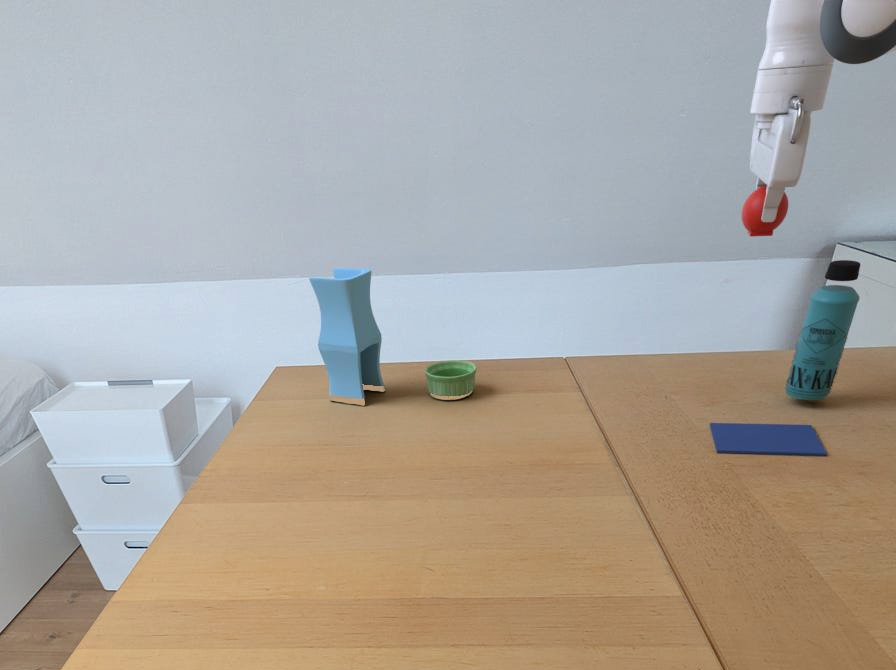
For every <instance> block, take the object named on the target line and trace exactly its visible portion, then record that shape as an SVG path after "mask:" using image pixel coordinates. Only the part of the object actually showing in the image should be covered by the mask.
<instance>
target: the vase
mask: <svg viewBox="0 0 896 670" xmlns="http://www.w3.org/2000/svg"><path fill="white" fill-rule="evenodd" d="M332 272H333V277H314V276H312V277H308V280H309V282H310V285H311V287H312V289H313V291H314V294H315V296H316V301H317V302H318V306H319V311H320V331H319V336H318V342H317V347H318V351H319V354H320V356H321V358H322V360H323V361H322V362H323V364H324V366H325V369H326V373H327V376H328V385H329V396H330V395H334V396H341V397H349V398H357V399H363V398H365V399H366V397H365V392H364V391H365V390H363V385H362V384H364V385H373V386H385V384H384V381H383V377H382V372H381V366H380V362H381V361H380V359H381V356H380V355H381V349H382V348H381V347H382V342H383V341H382V340H383V338H382V332H381V330H380V328H379V326H378V324H377V321H376V318H375V316H374V313H373V310H372V309H373V308H372V303H371V281H372V270H371V269H369V268H350V267H334V268H333V269H332Z"/></svg>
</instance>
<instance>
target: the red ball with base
mask: <svg viewBox="0 0 896 670" xmlns="http://www.w3.org/2000/svg"><path fill="white" fill-rule="evenodd" d="M766 189H767V186H764V187H761V188H759V189H757V190H756V189H755V190H753V192H752V193H750V195H749V196H748V197H747V198H746V200H745V201H744V203H743V206H742V208H741V209H742V210H741V222H742V224H743V227H744V228H745V230H747V234H748V236H749V237H773V235H774V230H776V229H778V227H779V226H781V224H783V222H784V221H785V218H786V216H787V213H788V210H789V198H788V195H787V193H786V192H785V191H784V194H783V197H782V199H781V202H780V204H779V207H778V210H777V215H776V219H775V220H774V221H773V222H763V221H762V220H761V218H760V217H761V212H762V207H763V206H764V201H765V197H766Z"/></svg>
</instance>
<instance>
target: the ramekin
mask: <svg viewBox="0 0 896 670" xmlns="http://www.w3.org/2000/svg"><path fill="white" fill-rule="evenodd" d="M476 373H477V365H476V364H475V363H473V362H470V361H467V360H461V359H459V360H458V359H455V360H454V359H453V360H451V359H450V360H443V361H438V362H434V363H431V364H429V365H427V366H426V367H425V368H424V374H425V377H426V383H427V391H428V390H429V391H428V393H429V392H430V393H432V394H434V395H438V396H448V397H449V396H461V395H465V394H468V393H470V392H471V391H473V390H474V391H475V387H476V385H475V382H476Z"/></svg>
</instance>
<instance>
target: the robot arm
mask: <svg viewBox="0 0 896 670" xmlns="http://www.w3.org/2000/svg"><path fill="white" fill-rule="evenodd" d="M765 34H766V35H765V36H766V40H765V47H764V50H763V54H762V57H761V58H760V61H759V63H758V66H757V72H756V76H755V83H754V88H753V94H752V99H751V104H750V109H749V113H750V115H754V122H753V129H752V135H751V136H752V137H751V145H750V155H749V171H750V172H751V173H752V174H754V175H755V177H757V178H756V182H755V190H757V189H759V188H761V187H764V186H767V189H766V197H765V201H764V206H763V207H762V212H761V217H760V218H761V220H762V221H763V222H773V221H774V220H775V219H776V215H777V210H778V207H779V204H780V202H781V199H782V197H783V194H784V192H785V190H786V188H793V187H796V186H798V183H799V181H800V178H801V175H802V173H803V172H802V171H803V167H804V163H805V162H804V161H805V158H806V157H805V156H806V153H807V146H808V141H809V137H810V130H811V121H812V118H811V116H812V112H816V111H821V110H823V108H824V106H825V102H826V97H827V93H828V88H829V84H830V79H831V75H832V71H833V67H834V63H835V60H836V61H838V62H840V63H843V64H847V65H862V64H866V63H868V62H871V61H874V60H876V59H878V58H880V57H882V56H884V55H888V54H890V53H892V52H895V51H896V0H770V4H769V8H768V13H767V20H766V24H765Z"/></svg>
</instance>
